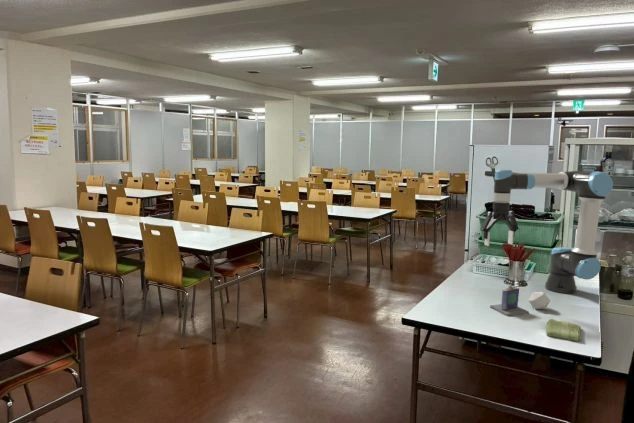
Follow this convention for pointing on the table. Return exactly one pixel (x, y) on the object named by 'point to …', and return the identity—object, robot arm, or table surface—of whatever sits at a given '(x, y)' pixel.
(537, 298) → the die
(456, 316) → the table surface
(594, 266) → the robot arm
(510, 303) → the flask
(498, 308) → the mat
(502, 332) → the table surface
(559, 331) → the washcloth
